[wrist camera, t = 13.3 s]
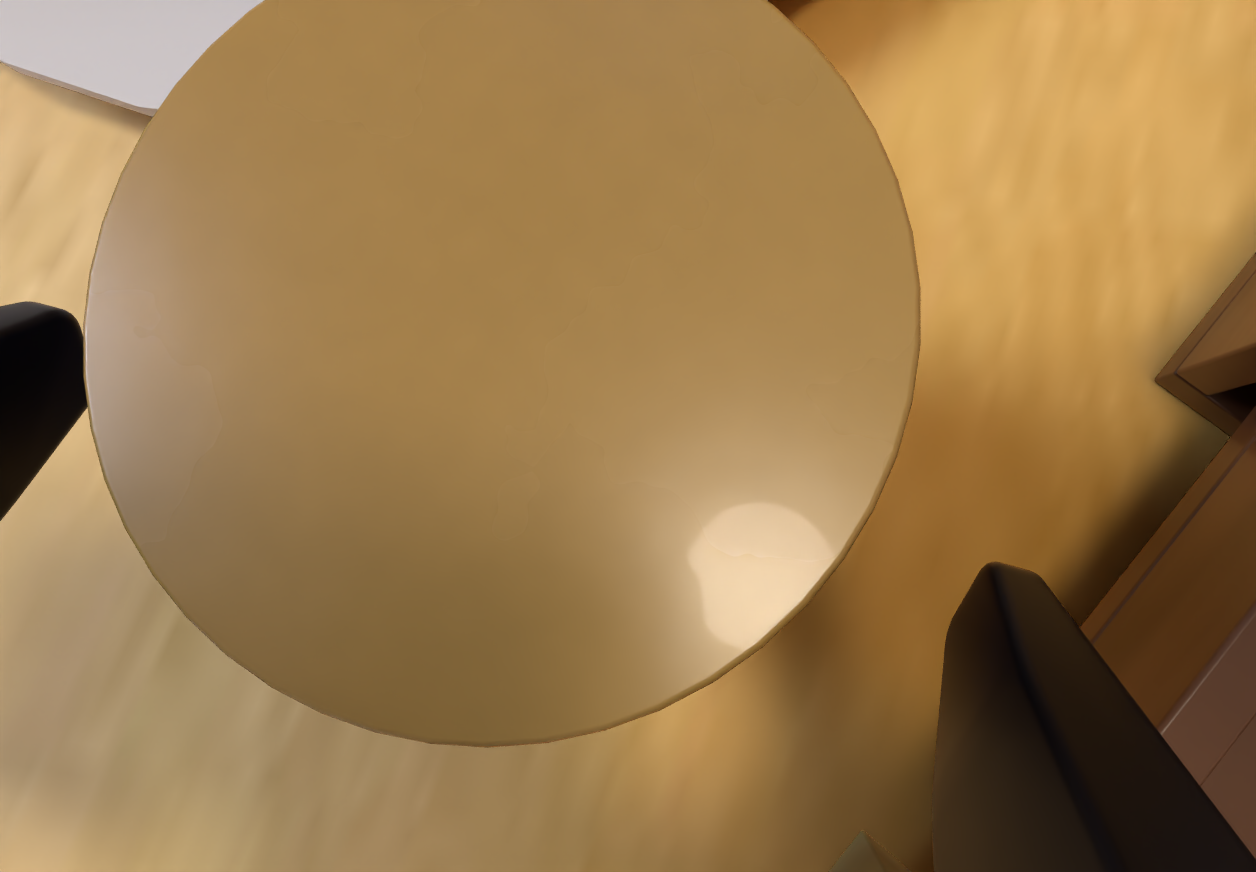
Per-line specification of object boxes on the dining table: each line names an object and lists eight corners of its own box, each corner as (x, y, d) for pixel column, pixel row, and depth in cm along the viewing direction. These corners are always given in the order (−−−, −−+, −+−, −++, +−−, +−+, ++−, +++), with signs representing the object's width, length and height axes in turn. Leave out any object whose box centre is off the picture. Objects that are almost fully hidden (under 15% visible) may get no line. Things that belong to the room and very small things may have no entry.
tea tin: (618, 694, 16) (487, 950, 6) (381, 457, 17) (-80, 331, 7) (855, 441, 16) (1113, 275, 6) (608, 221, 17) (483, -234, 7)
